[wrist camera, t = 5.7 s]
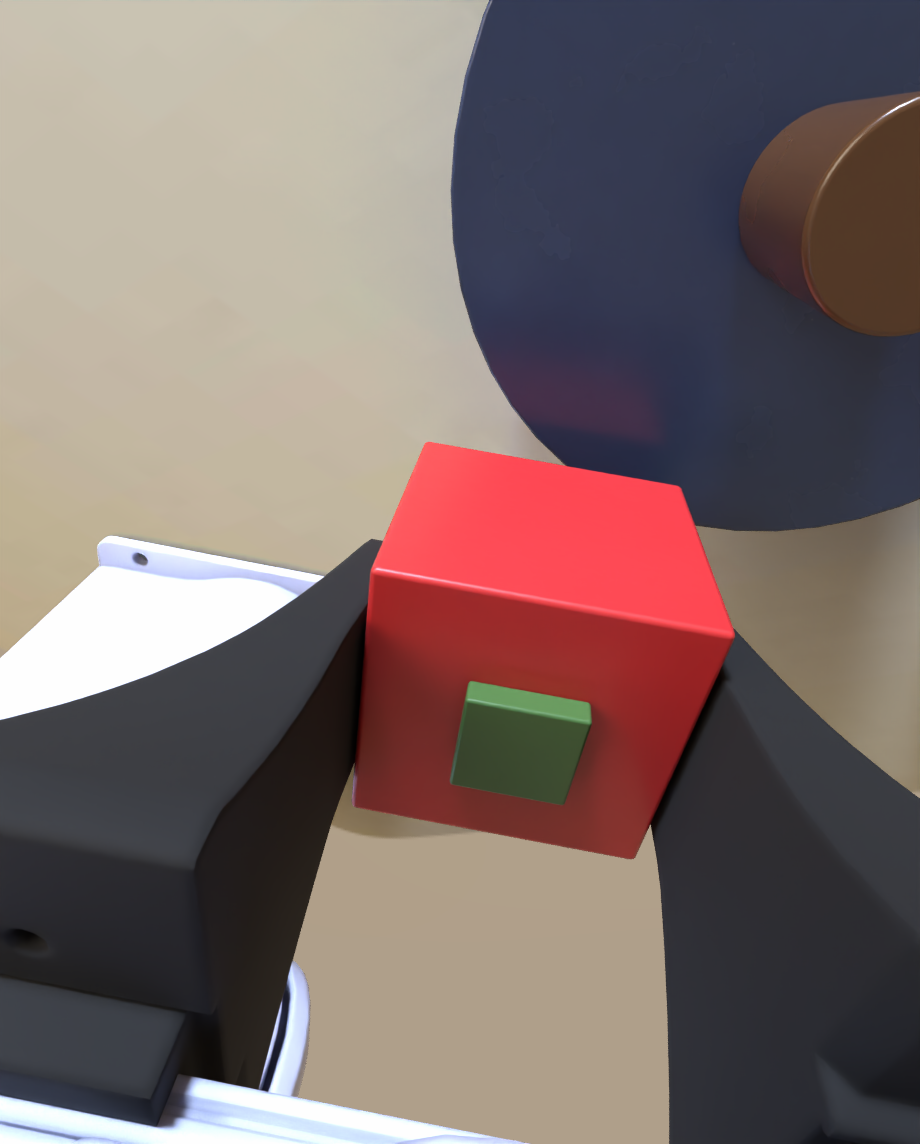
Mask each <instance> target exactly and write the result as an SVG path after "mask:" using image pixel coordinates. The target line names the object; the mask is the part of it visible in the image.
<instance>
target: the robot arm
mask: <svg viewBox="0 0 920 1144" xmlns="http://www.w3.org/2000/svg"><path fill="white" fill-rule="evenodd" d="M382 543H383V541H380V540H375V539H371V540H369V541H368V542H366V543H365V544H363V545H362V546H361V547H360V548H359V549H357V550H356V551H355V552H354V553H353V554H351V555H350V556H349V557H348V558H347V559H345V560H344V561H343V562H342V563H341V564H339V565H338V566H337V567H336V568H334V569H333V570H332V571H331V572H330V573H328V574H327V575H326V576H319V575H314V574H309V573H304V572H298V571H293V570H288V569H283V568H278V567H272V566H267V565H262V564H257V563H252V562H246V561H241V560H236V559H231V558H226V557H220V556H215V555H210V554H205V553H200V552H194V551H189V550H184V549H179V548H174V547H168V546H163V545H158V544H153V543H148V542H142V541H137V540H132V539H127V538H122V537H116V536H108V537H106V538H104V539H103V540H102V541H101V542H100V543H99V545H98V547H97V552H98V558H99V565H100V566H99V567H98V568H97V569H96V570H95V571H94V572H93V573H92V574H91V575H89V576H88V577H87V578H86V579H85V580H84V581H83V582H82V583H81V584H80V585H79V586H78V587H77V588H76V589H74V590H73V591H72V592H71V593H70V594H69V595H68V596H67V597H66V598H65V599H64V600H63V601H62V602H60V603H59V604H58V605H57V606H56V607H55V608H54V609H53V610H52V611H51V612H50V613H49V614H48V615H47V616H45V617H44V618H43V619H42V620H41V621H40V622H39V623H38V624H37V625H36V626H35V627H34V628H33V629H32V630H30V631H29V632H28V633H27V634H26V635H25V636H24V637H23V638H22V639H21V640H20V641H19V642H18V643H16V644H15V645H14V646H13V647H12V648H11V649H10V650H9V651H8V652H7V653H6V654H5V655H4V656H3V657H1V658H0V1144H528V1143H524V1142H519V1141H514V1140H507V1139H502V1138H496V1137H492V1136H487V1135H481V1134H476V1133H472V1132H467V1131H462V1130H456V1129H452V1128H447V1127H442V1126H437V1125H431V1124H427V1123H422V1122H417V1121H412V1120H406V1119H402V1118H396V1117H391V1116H386V1115H381V1114H376V1113H371V1112H367V1111H362V1110H357V1109H352V1108H347V1107H341V1106H337V1105H331V1104H326V1103H321V1102H316V1101H311V1100H306V1099H301V1098H297V1096H298V1094H299V1090H300V1086H301V1083H302V1078H303V1075H304V1070H305V1065H306V1059H307V1054H308V1046H309V1025H310V996H309V987H308V983H307V980H306V977H305V974H304V973H303V971H302V970H301V968H300V967H299V966H298V964H297V963H296V962H294V961H293V957H294V953H295V949H296V946H297V942H298V938H299V935H300V931H301V928H302V924H303V921H304V917H305V913H306V910H307V906H308V903H309V899H310V896H311V892H312V888H313V885H314V881H315V878H316V874H317V871H318V867H319V864H320V861H321V857H322V854H323V850H324V846H325V843H326V839H327V836H328V833H329V829H330V826H331V823H332V820H333V817H334V814H335V811H336V809H337V806H338V803H339V800H340V797H341V795H342V792H343V790H344V787H345V785H346V782H347V780H348V777H349V775H350V772H351V770H352V767H353V765H354V763H355V754H356V742H357V730H358V718H359V705H360V693H361V681H362V668H363V656H364V644H365V632H366V619H367V607H368V595H369V582H370V571H371V568H372V566H373V564H374V561H375V559H376V557H377V554H378V552H379V550H380V547H381V545H382ZM139 553H141V554H143V555H144V556H145V557H146V558H147V560H145V559H143V558H142V557H141V556H140V555H139ZM733 629H734V628H733ZM734 632H735V638H734V641H733V643H732V645H731V647H730V650H729V652H728V654H727V656H726V658H725V661H724V663H723V665H722V667H721V669H720V672H719V674H718V676H717V678H716V681H715V683H714V685H713V687H712V689H711V692H710V694H709V696H708V698H707V700H706V703H705V705H704V707H703V709H702V711H701V714H700V716H699V718H698V720H697V722H696V725H695V727H694V729H693V731H692V733H691V736H690V738H689V740H688V742H687V744H686V747H685V749H684V751H683V753H682V755H681V758H680V760H679V762H678V764H677V766H676V769H675V771H674V773H673V775H672V777H671V780H670V782H669V784H668V786H667V788H666V791H665V793H664V795H663V797H662V799H661V802H660V804H659V806H658V808H657V810H656V813H655V815H654V817H653V819H652V821H651V829H652V834H653V840H654V846H655V851H656V857H657V864H658V872H659V880H660V888H661V903H662V918H663V932H664V947H665V948H664V949H665V971H666V992H667V1014H668V1057H669V1144H920V798H918V797H917V796H915V795H914V794H913V793H912V792H910V791H909V790H908V789H906V788H905V787H904V786H902V785H901V784H900V783H898V782H897V781H896V780H894V779H893V778H892V777H890V776H889V775H888V774H887V773H885V772H884V771H883V770H882V769H880V768H879V767H878V766H877V765H876V764H874V763H873V762H872V761H871V760H869V759H868V758H867V757H866V756H864V755H863V754H862V753H861V752H860V751H858V750H857V749H856V748H855V747H853V746H852V745H851V744H850V743H849V742H848V741H846V740H845V739H844V738H843V737H842V736H841V735H840V734H838V733H837V732H836V731H835V730H834V729H833V728H832V727H830V726H829V725H828V724H827V723H826V722H825V721H824V720H823V719H822V718H821V717H820V716H819V715H818V714H817V713H816V712H815V711H813V710H812V709H811V708H810V707H809V706H808V705H807V704H806V703H805V702H804V701H803V700H802V699H801V698H800V697H799V696H798V695H797V694H796V693H795V692H794V691H793V690H792V689H791V688H790V687H789V686H788V685H787V684H786V683H785V682H784V681H783V680H782V679H781V678H780V677H779V676H778V675H777V674H776V673H775V672H774V671H773V670H772V669H771V668H770V667H769V666H768V665H767V664H766V663H765V661H764V660H763V659H762V658H761V657H760V656H759V655H758V654H757V653H756V652H755V651H754V650H753V649H752V648H751V646H750V645H749V644H748V643H747V642H746V641H745V640H744V639H743V638H742V637H741V636H740V634H739V633H738V632H737V631H736V630H735V629H734Z"/></svg>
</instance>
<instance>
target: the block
mask: <svg viewBox="0 0 920 1144" xmlns="http://www.w3.org/2000/svg"><path fill="white" fill-rule="evenodd" d="M734 638H735V632H734V629H733V626H732V624H731V621H730V618H729V616H728V613H727V610H726V608H725V605H724V602H723V599H722V597H721V594H720V591H719V589H718V586H717V583H716V581H715V578H714V575H713V573H712V570H711V567H710V564H709V562H708V559H707V556H706V554H705V551H704V548H703V546H702V543H701V540H700V538H699V535H698V532H697V529H696V527H695V524H694V521H693V519H692V516H691V513H690V511H689V508H688V505H687V502H686V500H685V497H684V494H683V492H682V489H681V487H679V486H676V485H670V484H665V483H659V482H653V481H648V480H642V479H636V478H631V477H625V476H619V475H614V474H608V473H602V472H597V471H591V470H585V469H580V468H574V467H568V466H563V465H557V464H551V463H546V462H540V461H534V460H529V459H523V458H518V457H512V456H506V455H501V454H495V453H489V452H484V451H478V450H472V449H467V448H461V447H455V446H450V445H444V444H438V443H433V442H426V443H425V445H424V447H423V449H422V451H421V454H420V456H419V458H418V461H417V463H416V465H415V468H414V470H413V472H412V475H411V477H410V479H409V482H408V484H407V486H406V489H405V491H404V493H403V496H402V498H401V500H400V503H399V505H398V507H397V510H396V512H395V514H394V517H393V519H392V521H391V524H390V526H389V529H388V531H387V533H386V536H385V538H384V540H383V543H382V545H381V547H380V550H379V552H378V554H377V557H376V559H375V561H374V564H373V566H372V568H371V571H370V582H369V595H368V607H367V619H366V632H365V644H364V656H363V668H362V681H361V693H360V705H359V718H358V730H357V742H356V754H355V767H354V779H353V791H352V804H353V806H354V807H356V808H361V809H367V810H372V811H377V812H382V813H388V814H393V815H398V816H404V817H409V818H414V819H419V820H425V821H430V822H435V823H441V824H446V825H451V826H456V827H462V828H467V829H472V830H477V831H483V832H488V833H493V834H499V835H504V836H509V837H514V838H520V839H525V840H531V841H536V842H541V843H546V844H551V845H557V846H562V847H567V848H573V849H579V850H584V851H588V852H594V853H599V854H604V855H610V856H615V857H620V858H625V859H634V858H635V856H636V854H637V852H638V850H639V848H640V845H641V843H642V841H643V839H644V837H645V834H646V832H647V830H648V828H649V826H650V824H651V821H652V819H653V817H654V815H655V813H656V810H657V808H658V806H659V804H660V802H661V799H662V797H663V795H664V793H665V791H666V788H667V786H668V784H669V782H670V780H671V777H672V775H673V773H674V771H675V769H676V766H677V764H678V762H679V760H680V758H681V755H682V753H683V751H684V749H685V747H686V744H687V742H688V740H689V738H690V736H691V733H692V731H693V729H694V727H695V725H696V722H697V720H698V718H699V716H700V714H701V711H702V709H703V707H704V705H705V703H706V700H707V698H708V696H709V694H710V692H711V689H712V687H713V685H714V683H715V681H716V678H717V676H718V674H719V672H720V669H721V667H722V665H723V663H724V661H725V658H726V656H727V654H728V652H729V650H730V647H731V645H732V643H733V641H734Z"/></svg>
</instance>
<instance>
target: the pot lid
mask: <svg viewBox="0 0 920 1144" xmlns="http://www.w3.org/2000/svg"><path fill="white" fill-rule="evenodd" d="M451 207H452V228H453V244H454V250H455V256H456V262H457V268H458V275H459V281H460V287H461V291H462V295H463V298H464V301H465V305H466V308H467V312H468V315H469V319H470V322H471V325H472V329H473V332H474V335H475V337H476V339H477V342H478V344H479V346H480V348H481V351H482V353H483V355H484V358H485V360H486V362H487V365H488V367H489V369H490V371H491V373H492V375H493V377H494V378H495V380H496V382H497V383H498V385H499V387H500V388H501V390H502V392H503V393H504V395H505V397H506V398H507V400H508V402H509V403H510V405H511V407H512V408H513V409H514V410H515V412H516V413H517V414H518V415H519V417H520V418H521V419H522V420H523V422H524V423H525V424H526V425H527V427H528V428H529V429H530V430H531V432H532V433H533V434H534V435H535V437H536V438H537V439H538V440H539V441H540V442H541V443H543V444H544V445H545V446H546V447H547V448H548V449H549V450H550V451H551V452H552V453H553V454H554V455H555V456H556V457H557V458H558V459H559V460H560V461H561V462H562V463H563V464H565V465H566V466H568V467H574V468H580V469H585V470H591V471H597V472H602V473H608V474H614V475H619V476H625V477H631V478H636V479H642V480H648V481H653V482H659V483H665V484H670V485H676V486H679V487H681V489H682V492H683V494H684V497H685V500H686V502H687V505H688V508H689V511H690V513H691V516H692V519H693V521H694V524H695V525H696V526H703V527H711V528H718V529H726V530H734V531H784V530H795V529H806V528H816V527H821V526H827V525H832V524H837V523H842V522H847V521H852V520H857V519H861V518H864V517H867V516H871V515H874V514H877V513H881V512H884V511H887V510H890V509H894V508H897V507H900V506H903V505H906V504H908V503H911V502H913V501H915V500H918V499H920V0H489V2H488V5H487V7H486V9H485V12H484V14H483V17H482V21H481V24H480V27H479V31H478V34H477V38H476V41H475V44H474V48H473V51H472V55H471V58H470V61H469V65H468V68H467V72H466V75H465V80H464V85H463V91H462V96H461V102H460V107H459V113H458V118H457V124H456V129H455V135H454V150H453V165H452V179H451Z"/></svg>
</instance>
